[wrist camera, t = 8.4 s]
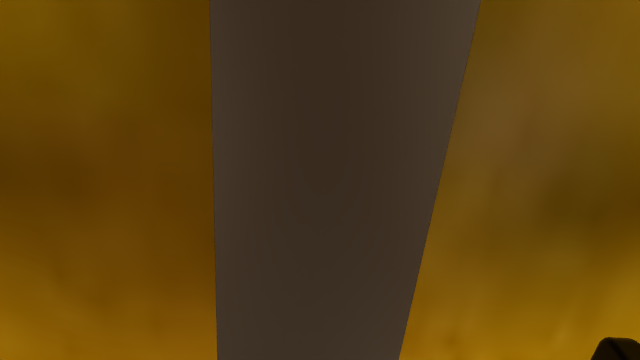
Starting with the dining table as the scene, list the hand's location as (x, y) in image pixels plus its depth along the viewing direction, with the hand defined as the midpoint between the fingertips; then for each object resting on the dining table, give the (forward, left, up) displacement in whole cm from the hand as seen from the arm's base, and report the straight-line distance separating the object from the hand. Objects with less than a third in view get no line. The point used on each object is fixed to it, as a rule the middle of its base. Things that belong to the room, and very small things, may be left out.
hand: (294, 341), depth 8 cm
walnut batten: (0, -6, -5) cm, 8 cm away
